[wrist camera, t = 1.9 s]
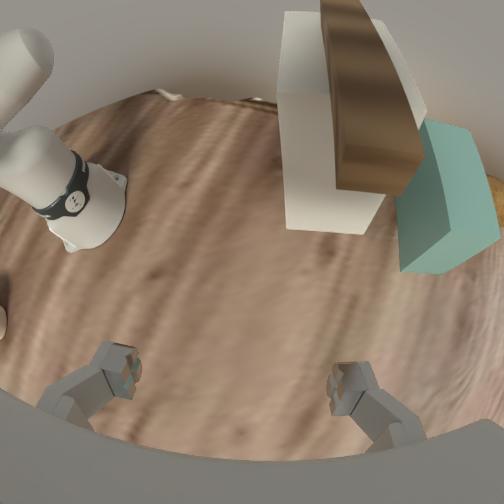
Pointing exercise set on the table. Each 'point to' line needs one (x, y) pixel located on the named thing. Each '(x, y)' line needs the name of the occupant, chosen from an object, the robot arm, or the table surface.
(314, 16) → the stand
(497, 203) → the potato
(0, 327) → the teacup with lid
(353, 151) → the rail
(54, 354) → the table surface
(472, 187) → the teal box
